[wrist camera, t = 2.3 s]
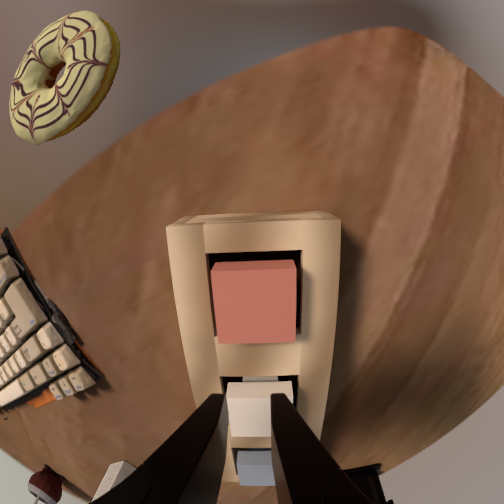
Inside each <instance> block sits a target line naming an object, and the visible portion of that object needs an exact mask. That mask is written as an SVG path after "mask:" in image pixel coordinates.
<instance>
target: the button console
mask: <svg viewBox="0 0 504 504" xmlns="http://www.w3.org/2000/svg"><path fill="white" fill-rule="evenodd" d="M166 233H167V242H168V251H169V259H170V267H171V275H172V282H173V289H174V296H175V302H176V308H177V315H178V321H179V326H180V332H181V338H182V343H183V348H184V353H185V358H186V363H187V368H188V373H189V378H190V382H191V387H192V391H193V395H194V400H195V404H196V408H198V407H199V406H200V405H201V404H202V403H203V402H204V401H205V400H206V399H207V398H208V397H209V395H210V394H212V393H223V394H225V393H224V386H223V379H222V376H236V377H244V376H284V375H298V383H297V400H296V409H297V411H298V412H299V414H300V415H301V416H302V418H303V419H304V420H305V422H306V423H307V424H308V426H309V427H310V429H311V430H312V431H313V433H314V434H315V435H316V437H317V438H318V439H319V441H320V437H321V431H322V426H323V420H324V414H325V408H326V402H327V396H328V389H329V382H330V374H331V366H332V358H333V349H334V340H335V329H336V318H337V305H338V290H339V272H340V245H341V220H340V219H339V218H337V217H335V216H333V215H332V214H330V213H328V212H326V211H287V212H258V213H235V214H216V215H198V216H185V217H183V218H181V219H179V220H178V221H176V222H174V223H172V224H170V225H168V226H166ZM282 250H301V299H300V328H296V338H295V342H282V343H249V344H218V336H217V330H216V324H215V315H214V306H213V296H212V286H211V276H210V265H209V254H208V253H227V252H255V251H282ZM238 448H271V437H232V436H231V430H230V423H229V421H228V436H227V452H226V461H225V467H224V471H223V476H222V480H221V481H226V482H240V481H239V476H238V470H237V454H238V451H249V449H238Z"/></svg>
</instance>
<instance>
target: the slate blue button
mask: <svg viewBox="0 0 504 504" xmlns="http://www.w3.org/2000/svg"><path fill="white" fill-rule="evenodd" d="M237 470H238V476H239V481H240V486H275V480H274V474H273V467H272V460H271V448H249V451H238V454H237Z"/></svg>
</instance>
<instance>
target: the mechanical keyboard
mask: <svg viewBox="0 0 504 504" xmlns="http://www.w3.org/2000/svg"><path fill="white" fill-rule="evenodd" d="M103 378H106V376H105V375H104V373H103V372H102V371H101V370H100V369H99V368H98V367H97V365H96V364H95V363H94V362H93V361H92V360H91V359H90V357H89V356H88V355H87V354H86V352H85V351H84V350H83V349H82V347H81V346H80V345H79V344H78V342H77V341H76V339H75V337H74V336H73V334H72V332H71V329H70V327H69V326H67V324H66V320H65V318H64V314H63V313H62V312H61V311H60V310H58V308H57V306H56V304H55V303H53V302H52V301H51V300H50V299H49V298H47V297H46V295H45V294H44V292H43V291H42V289H41V287H40V286H39V284H38V283H37V281H36V280H35V279H34V277H33V276H32V274H31V272H30V271H29V269H28V267H27V265H26V263H25V262H24V260H23V258H22V256H21V254H20V252H19V250H18V248H17V246H16V244H15V242H14V240H13V238H12V236H11V233H10V231H9V229H8V227H5V229H4V230H1V229H0V408H4V409H12V408H14V407H16V406H18V405H22V404H25V403H29V405H30V404H31V405H32V403H33V404H34V405H35V406H33V407H37V408H38V407H40V406H42V405H45V404H47V403H50V402H53V401H55V400H61V399H64V398H65V397H67V396H71V395H74V394H75V393H77V392H78V391H82V390H85V389H87V388H88V387H90V386H92V385H94V384H96V381H99V380H101V379H103ZM7 419H8V418H5V419H4V420H7Z"/></svg>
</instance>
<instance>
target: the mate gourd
mask: <svg viewBox="0 0 504 504" xmlns="http://www.w3.org/2000/svg"><path fill="white" fill-rule="evenodd" d="M44 466H45V468H43V470H42V471H39V472H37V473H35V474H33V475H32V476H31V478H30V480H29V483H28V489H29V491H30V493H32V494H33V495H34V496H35V497H36V500H35V502H34V504H37V502H38V500H40V501H42V502H44V503H45V504H57V502H58V501H59V500H60V499H61V495H62V487H61V486H62V481H63V480H65V478H64V477H63V476H61V475H59V474H56V473H55V472H53V470H52V469H51V468H50V467H49V466H48V465H46V464H45V465H44Z"/></svg>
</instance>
